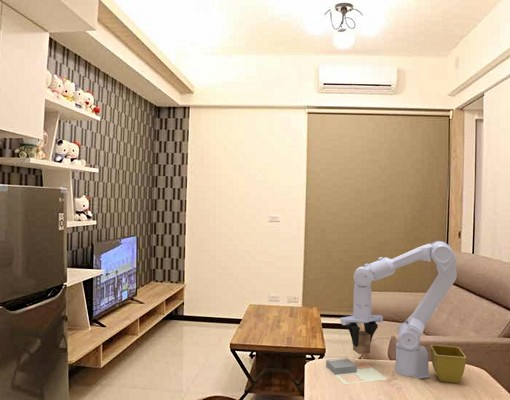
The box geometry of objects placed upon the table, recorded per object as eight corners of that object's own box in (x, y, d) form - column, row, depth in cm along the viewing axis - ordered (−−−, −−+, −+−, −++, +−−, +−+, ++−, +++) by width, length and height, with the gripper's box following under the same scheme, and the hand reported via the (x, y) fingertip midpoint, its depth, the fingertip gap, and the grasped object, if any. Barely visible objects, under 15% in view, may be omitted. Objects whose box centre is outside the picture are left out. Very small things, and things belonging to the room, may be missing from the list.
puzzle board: (363, 363, 144) (363, 360, 144) (387, 382, 130) (387, 378, 130) (323, 368, 140) (323, 364, 140) (344, 387, 126) (344, 383, 126)
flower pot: (466, 387, 128) (466, 357, 127) (435, 384, 129) (435, 354, 129) (458, 374, 136) (459, 346, 136) (429, 372, 138) (429, 344, 138)
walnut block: (363, 348, 142) (364, 330, 142) (369, 353, 139) (370, 334, 139) (352, 349, 141) (353, 331, 141) (358, 354, 138) (359, 335, 137)
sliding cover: (346, 364, 141) (347, 357, 141) (356, 372, 134) (356, 365, 134) (326, 366, 139) (326, 359, 139) (335, 374, 132) (335, 367, 132)
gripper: (375, 299, 146) (374, 339, 146) (336, 301, 142) (335, 342, 142) (386, 305, 139) (386, 346, 139) (346, 307, 135) (345, 350, 135)
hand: (361, 344), depth 140 cm, fingers closed on walnut block, 4 cm apart
